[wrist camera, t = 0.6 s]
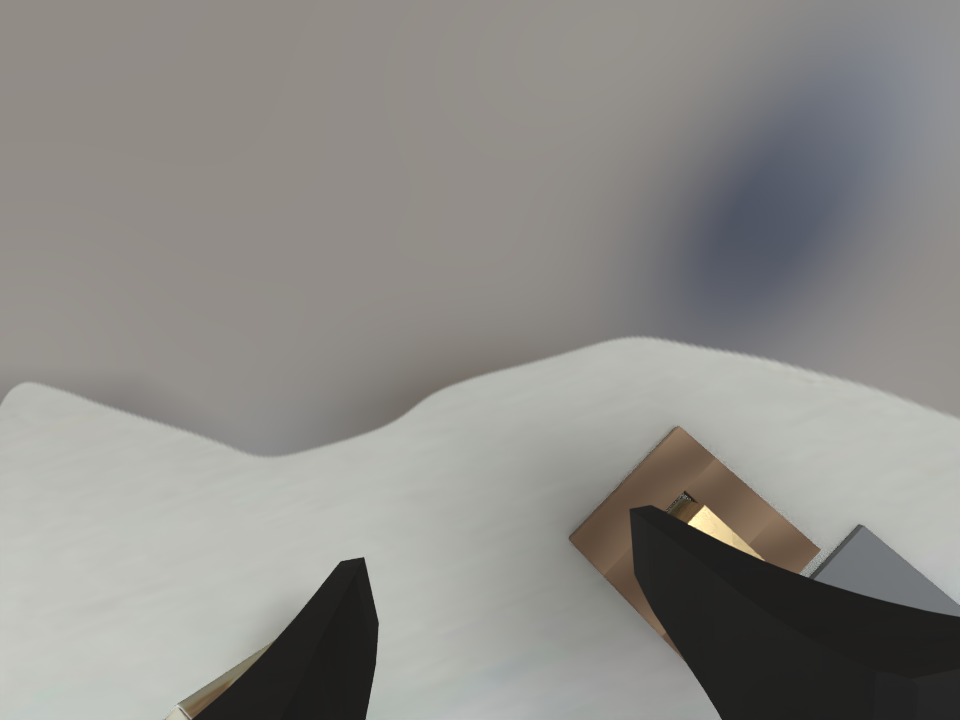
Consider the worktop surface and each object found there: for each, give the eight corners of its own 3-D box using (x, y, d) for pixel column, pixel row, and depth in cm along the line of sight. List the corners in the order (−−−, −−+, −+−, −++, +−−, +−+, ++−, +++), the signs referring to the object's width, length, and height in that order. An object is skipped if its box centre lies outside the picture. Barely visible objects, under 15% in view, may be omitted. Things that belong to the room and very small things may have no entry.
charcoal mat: (1000, 642, 27) (1008, 646, 26) (896, 756, 26) (903, 762, 26) (859, 524, 29) (864, 525, 29) (762, 627, 29) (766, 630, 28)
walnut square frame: (810, 546, 29) (820, 549, 28) (695, 669, 29) (700, 677, 28) (675, 427, 32) (679, 426, 31) (569, 537, 32) (569, 540, 31)
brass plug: (729, 543, 30) (765, 561, 25) (688, 586, 30) (715, 614, 25) (680, 497, 31) (704, 505, 26) (640, 540, 31) (656, 556, 26)
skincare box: (312, 613, 34) (179, 694, 22) (353, 656, 33) (236, 767, 21) (257, 685, 33) (92, 808, 22) (297, 732, 32) (145, 888, 21)
